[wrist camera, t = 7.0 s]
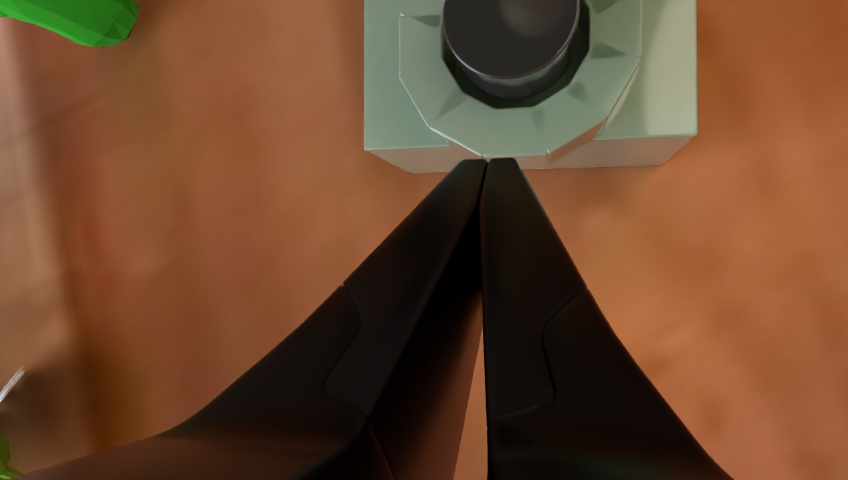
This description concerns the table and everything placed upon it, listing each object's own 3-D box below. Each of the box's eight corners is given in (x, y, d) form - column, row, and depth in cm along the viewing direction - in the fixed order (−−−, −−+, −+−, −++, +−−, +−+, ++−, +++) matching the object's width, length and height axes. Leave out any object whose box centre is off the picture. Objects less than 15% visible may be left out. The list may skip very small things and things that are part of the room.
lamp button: (577, 96, 14) (580, 73, 12) (456, 104, 15) (441, 83, 13) (577, -26, 14) (579, -67, 12) (456, -13, 15) (441, -50, 13)
